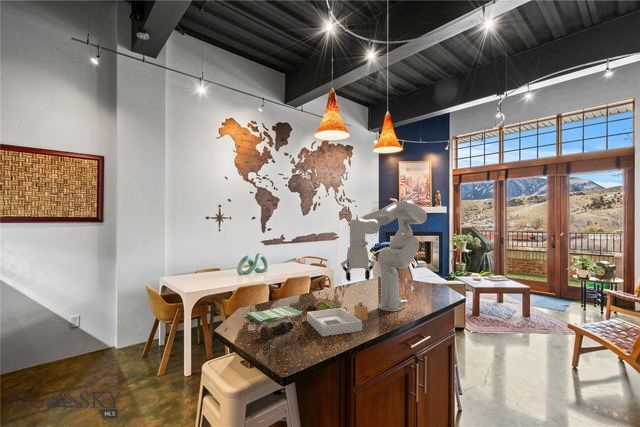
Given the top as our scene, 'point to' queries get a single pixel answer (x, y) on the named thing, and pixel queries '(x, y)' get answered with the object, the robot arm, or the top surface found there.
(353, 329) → the tray
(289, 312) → the dish towel
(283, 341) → the top surface
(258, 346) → the top surface
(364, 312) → the tan rectangular block
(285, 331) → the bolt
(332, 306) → the green elongated lump
